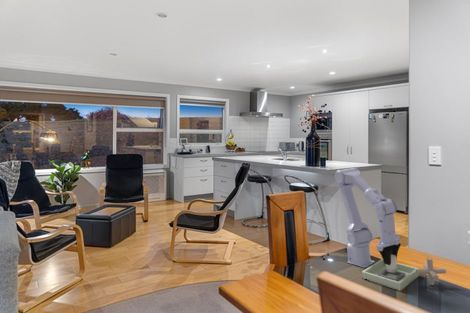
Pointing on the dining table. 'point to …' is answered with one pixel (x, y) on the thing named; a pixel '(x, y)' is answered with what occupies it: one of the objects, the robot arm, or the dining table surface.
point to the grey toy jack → (430, 271)
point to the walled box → (390, 275)
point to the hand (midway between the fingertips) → (390, 262)
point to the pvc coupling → (392, 265)
